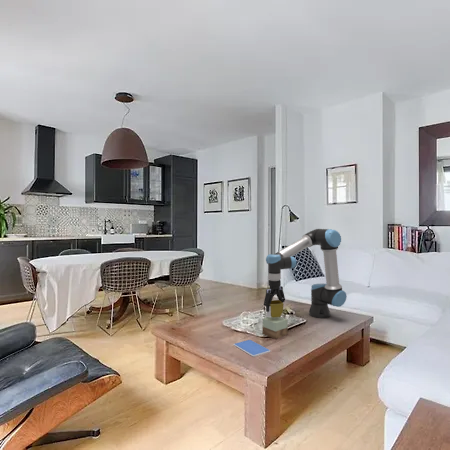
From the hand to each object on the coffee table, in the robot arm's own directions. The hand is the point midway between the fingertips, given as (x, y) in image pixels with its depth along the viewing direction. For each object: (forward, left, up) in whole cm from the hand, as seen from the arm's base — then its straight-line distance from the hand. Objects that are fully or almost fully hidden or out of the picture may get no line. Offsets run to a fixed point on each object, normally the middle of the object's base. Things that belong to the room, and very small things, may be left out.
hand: (274, 314), depth 202 cm
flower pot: (0, 0, -1) cm, 1 cm away
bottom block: (0, 0, -13) cm, 13 cm away
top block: (0, 0, -8) cm, 8 cm away
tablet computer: (+26, +4, -13) cm, 29 cm away
